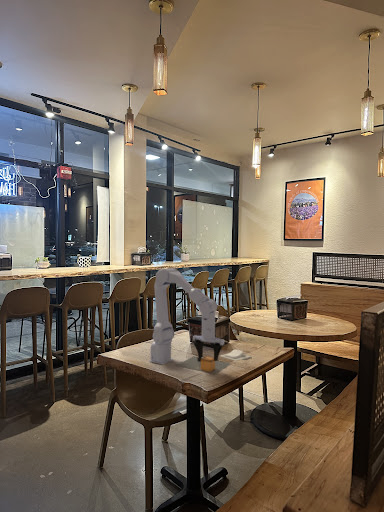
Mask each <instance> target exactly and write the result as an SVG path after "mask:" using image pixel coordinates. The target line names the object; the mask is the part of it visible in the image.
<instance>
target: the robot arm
mask: <svg viewBox="0 0 384 512" xmlns="http://www.w3.org/2000/svg"><path fill="white" fill-rule="evenodd" d="M171 284H176V285H177V286H178V287H179V288H181V289H183V291H185V293H187V294H188V298H189V299H190V300H191V301H192V302H193V303H194V304H195V305H196V306H197V307H198V310H199V311H200V314H201V335H197V334H196V335H195V334H194V335H193V336H192V341H194V342H193V345H194V347H195V349H196V352H197V355H198V356H199V358H201V357H202V358H203V355H204V354H203V351H204V343H209V344H213V345H212V348H213V358H214V361H219V357H220V353H221V350H222V348H223V346H224V345H225V339H222V338H218V337H216V336H215V335H216V311H217V309H218V303H217V302H216V300H215V299H213V298H210V297H209V296H207V295H206V294H205V293H204V292H202V291H203V290H202V289H201V288H196V287H195V288H194V287H193V285H191V284H190V283H189V281H188V280H187V279H186V278H184V276H183V275H182V273H181V272H180V271H179V270H178V269H177V268H175V267H171V268H160V269H159V270H158V271H157V272H156V273H155V281H154V285H153V287H154V299H155V300H154V302H155V310H156V311H155V312H156V323H155V325H154V327H153V333H152V339H153V342H152V343H151V345H150V360H149V362H151V363H156V364H160V365H165V364H167V363H169V362H171V361H174V358H172V341H173V339H174V338H175V330H174V328H173V325H172V323H171V322H170V321H169V318H170V317H169V308H168V297H167V296H168V295H167V288H168V287H169V286H170V285H171ZM198 356H197V357H198Z"/></svg>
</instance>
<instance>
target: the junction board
mask: <svg viewBox="0 0 384 512" xmlns="http://www.w3.org/2000/svg"><path fill="white" fill-rule="evenodd" d="M197 357H198V356H195V355H194V356H192V357H190V358H188V359H185V360H183V361H181V362H180V363H178V364H175V366H176V367H180V368H184V369H189V370H193V371H198V372H203V373H206V374H212V375H216V374H218V373H219V372H222V371H223V370H224V369H226V368H227V367H228V366H230V365H231V363H230V362H224V361H219V360H217V361H215V369H214V370H212V371H210V372H209V371H205V370H201V361H197Z"/></svg>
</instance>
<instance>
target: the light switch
mask: <svg viewBox="0 0 384 512" xmlns="http://www.w3.org/2000/svg"><path fill="white" fill-rule="evenodd" d="M243 351H244V350H239V349H233V350H232V351H230V352H228V353H224V354H221V355H220V354H219V357H222V358H225V359H228V360H232V361H235V362H237V361H240V360H242V361H246V360H249V359H252V356H250V355H247V354H245V353H244V352H243Z"/></svg>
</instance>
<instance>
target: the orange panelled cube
mask: <svg viewBox="0 0 384 512" xmlns="http://www.w3.org/2000/svg"><path fill="white" fill-rule="evenodd" d="M214 369H215V361H214V357H211V356H205V357H202V359H201V370H205V371H209V372H210V371H212V370H214Z"/></svg>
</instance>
